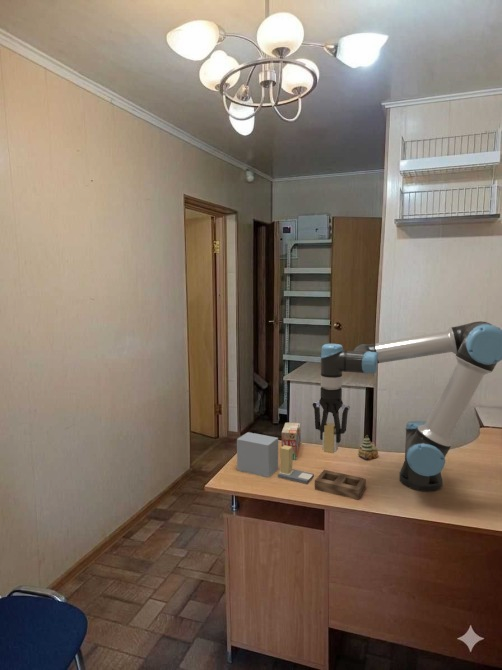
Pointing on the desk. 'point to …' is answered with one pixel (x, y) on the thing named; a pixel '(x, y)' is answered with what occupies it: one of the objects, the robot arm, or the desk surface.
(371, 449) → the ornament
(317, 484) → the socket board
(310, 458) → the desk surface
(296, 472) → the board
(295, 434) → the stack of blocks
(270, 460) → the block
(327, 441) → the brass pin
